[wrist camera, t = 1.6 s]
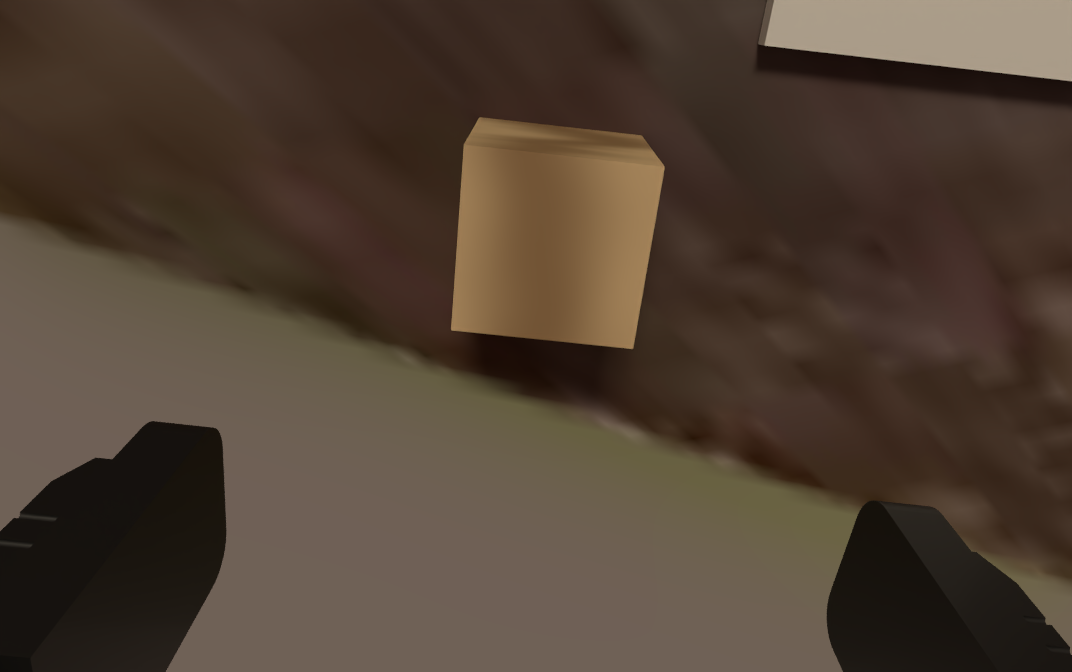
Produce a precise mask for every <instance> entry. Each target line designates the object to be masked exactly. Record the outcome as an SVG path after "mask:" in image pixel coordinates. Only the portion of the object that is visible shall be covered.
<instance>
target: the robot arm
mask: <svg viewBox="0 0 1072 672" xmlns="http://www.w3.org/2000/svg"><path fill="white" fill-rule="evenodd" d="M225 543H226V513H225V491H224V468H223V446H222V439H221V436H220V433H219V431H218V430H217V429H216V428H210V427H201V426H192V425H183V424H174V423H165V422H155V421H152V422H149V423H147V424H146V425H144V426H143V427H142V428H141V429H140V430H139V431H138V433H137V434H136V435H135V436H134V437H133V438H132V439H131V440H130V441H129V442H128V443H127V444H126V445H125V447H123V449H122V450H121V451H120V452H119V453H118V454H117V455H116V456H115V457H114V458H113V459H103V458H95V459H92V460H91V461H89V462H87V463H85V464H83V465H81V466H79V467H77V468H75V469H74V470H72V471H70V472H68V473H66V474H64V475H62V476H60V477H59V478H57V479H55V480H53V481H51V482H50V483H49V484H48V485H47V486H46V487H45V488H44V489H43V490H42V491H41V492H40V493H39V494H38V495H37V496H36V497H35V498H34V499H33V500H32V501H31V502H30V503H29V504H28V505H27V506H26V507H25V508H24V509H23V510H22V511H21V512H20V517H19V518H14V519H12V521H10V522H9V523H8V524H7V525H6V526H5V527H4V528H3V529H2V530H1V531H0V672H166V670H167V668H168V666H169V664H170V663H171V661H172V659H173V657H174V655H175V653H176V652H177V650H178V648H179V647H180V645H181V643H182V641H183V639H184V638H185V636H186V634H187V632H188V630H189V629H190V626H191V625H192V623H193V621H194V620H195V618H196V616H197V614H198V612H199V610H200V609H201V607H202V605H203V603H204V602H205V600H206V598H207V596H208V594H209V593H210V591H211V589H212V587H213V585H214V583H215V581H216V579H217V576H218V574H219V571H220V568H221V564H222V560H223V556H224V551H225ZM827 627H828V634H829V639H830V642H831V645H832V648H833V651H834V653H835V655H836V657H837V659H838V661H839V664H840V666H841V668H842V670H843V672H1072V655H1071V654H1070V647H1069V646H1068V645H1067V643H1066V642H1065V641H1064V640H1063V639H1062V637H1061V636H1060V635H1059V634H1058V633H1057V631H1056V630H1055V629H1054V628H1053V626H1052V625H1046V623H1045V617H1044V616H1043V614H1042V613H1041V612H1040V611H1039V610H1038V608H1037V607H1036V606H1035V605H1034V604H1033V602H1032V601H1031V600H1030V599H1029V598H1028V596H1027V595H1026V594H1025V593H1024V591H1023V590H1022V589H1021V588H1020V587H1019V585H1018V584H1017V583H1016V582H1014V581H1013V580H1012V579H1011V578H1009V577H1008V576H1007V575H1005V574H1004V573H1003V572H1001V571H1000V570H999V569H997V568H996V567H995V566H994V565H992V564H991V563H990V562H988V561H987V560H986V559H984V558H983V557H982V556H980V555H979V554H978V553H977V552H971V550H970V549H969V548H968V547H967V545H966V544H965V543H964V542H963V540H962V539H961V538H960V537H959V535H958V534H957V533H956V531H955V530H954V529H953V528H952V526H951V525H950V524H949V523H948V521H947V520H946V519H945V518H944V516H943V515H942V514H941V513H940V512H939V511H938V510H937V509H935V508H933V507H929V506H920V505H910V504H901V503H892V502H882V501H869V502H867V503H866V504H865V505H864V506H863V507H862V508H861V510H860V512H859V514H858V516H857V519H856V521H855V524H854V527H853V530H852V533H851V536H850V539H849V541H848V544H847V547H846V550H845V552H844V555H843V559H842V561H841V564H840V567H839V569H838V572H837V575H836V578H835V581H834V584H833V586H832V589H831V592H830V595H829V599H828V606H827Z"/></svg>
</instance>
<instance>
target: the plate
mask: <svg viewBox="0 0 1072 672" xmlns="http://www.w3.org/2000/svg"><path fill="white" fill-rule="evenodd" d="M758 44H759V45H764V46H772V47H781V48H789V49H798V50H807V51H815V52H824V53H832V54H841V55H850V56H858V57H867V58H876V59H884V60H893V61H902V62H910V63H919V64H927V65H936V66H945V67H953V68H962V69H971V70H979V71H988V72H997V73H1005V74H1014V75H1022V76H1031V77H1040V78H1048V79H1057V80H1066V81H1072V0H767V3H766V8H765V13H764V18H763V22H762V27H761V32H760V37H759V41H758Z"/></svg>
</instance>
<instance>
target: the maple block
mask: <svg viewBox="0 0 1072 672" xmlns="http://www.w3.org/2000/svg"><path fill="white" fill-rule="evenodd" d="M664 168H665V167H664V165H663V164H662V162H661V161H660V160H659V158H658V157H657V156H656V154H655V153H654V152H653V150H652V149H651V148H650V146H649V145H648V143H647V142H646V141H645V139H644V138H643V137H642V135H633V134H624V133H615V132H606V131H597V130H588V129H579V128H570V127H561V126H552V125H543V124H534V123H526V122H517V121H508V120H499V119H490V118H481V117H479V119H478V121H477V123H476V124H475V126H474V128H473V130H472V131H471V133H470V135H469V137H468V139H467V140H466V142H465V144H464V152H463V167H462V181H461V196H460V210H459V225H458V239H457V253H456V268H455V282H454V297H453V311H452V326H451V330H453V331H463V332H473V333H483V334H492V335H502V336H512V337H521V338H531V339H541V340H551V341H560V342H570V343H580V344H589V345H599V346H609V347H619V348H628V349H633V346H634V341H635V335H636V329H637V323H638V318H639V312H640V306H641V300H642V295H643V289H644V283H645V277H646V272H647V266H648V260H649V255H650V249H651V243H652V237H653V232H654V226H655V220H656V214H657V209H658V203H659V197H660V191H661V186H662V180H663V174H664Z"/></svg>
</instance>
